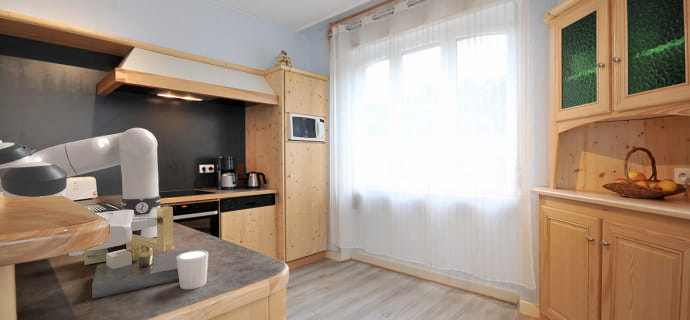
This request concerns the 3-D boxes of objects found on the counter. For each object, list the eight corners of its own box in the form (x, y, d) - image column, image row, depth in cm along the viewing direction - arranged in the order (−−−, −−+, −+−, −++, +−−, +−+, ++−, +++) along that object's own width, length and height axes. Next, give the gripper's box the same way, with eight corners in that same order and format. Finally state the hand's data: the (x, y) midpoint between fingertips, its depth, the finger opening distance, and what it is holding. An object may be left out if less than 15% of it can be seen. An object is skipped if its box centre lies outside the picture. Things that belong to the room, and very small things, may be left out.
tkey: (124, 261, 80) (122, 203, 79) (136, 257, 82) (134, 201, 82) (163, 272, 72) (161, 209, 72) (175, 267, 75) (173, 206, 74)
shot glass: (188, 293, 69) (187, 261, 69) (170, 286, 73) (170, 256, 72) (215, 281, 75) (214, 252, 75) (198, 275, 79) (197, 248, 78)
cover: (106, 265, 77) (106, 253, 77) (125, 260, 81) (124, 249, 81) (112, 269, 75) (112, 256, 75) (131, 264, 78) (131, 252, 78)
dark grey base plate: (97, 276, 78) (97, 264, 78) (186, 260, 89) (186, 249, 89) (92, 298, 67) (91, 285, 66) (195, 276, 78) (195, 264, 78)
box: (130, 252, 96) (128, 214, 96) (130, 257, 92) (129, 217, 91) (86, 259, 90) (84, 219, 90) (84, 265, 86) (82, 222, 85)
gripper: (87, 233, 74) (156, 225, 81) (69, 259, 57) (158, 246, 64) (87, 206, 74) (155, 201, 81) (68, 224, 56) (157, 215, 64)
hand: (156, 221), depth 72 cm, fingers closed
